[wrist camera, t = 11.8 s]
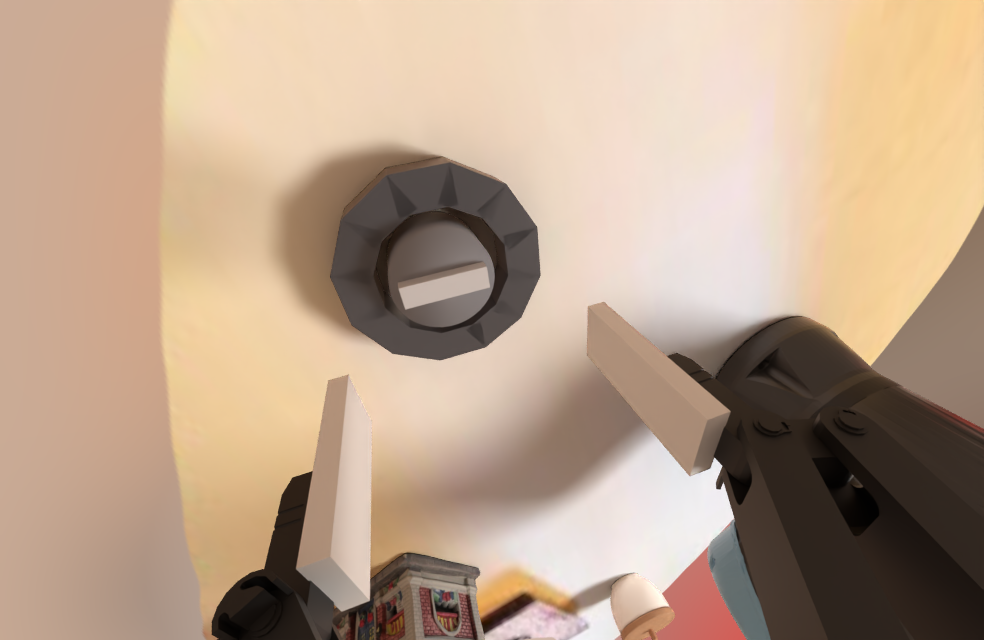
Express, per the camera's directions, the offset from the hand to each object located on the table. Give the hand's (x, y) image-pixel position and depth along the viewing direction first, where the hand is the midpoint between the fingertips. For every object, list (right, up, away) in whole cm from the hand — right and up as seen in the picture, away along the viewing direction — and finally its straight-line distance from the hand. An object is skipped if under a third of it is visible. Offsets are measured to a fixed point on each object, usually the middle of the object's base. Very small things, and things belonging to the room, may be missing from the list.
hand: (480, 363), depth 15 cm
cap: (-4, +6, +9) cm, 12 cm away
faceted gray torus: (-3, +6, +10) cm, 12 cm away
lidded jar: (+27, -51, +55) cm, 80 cm away
